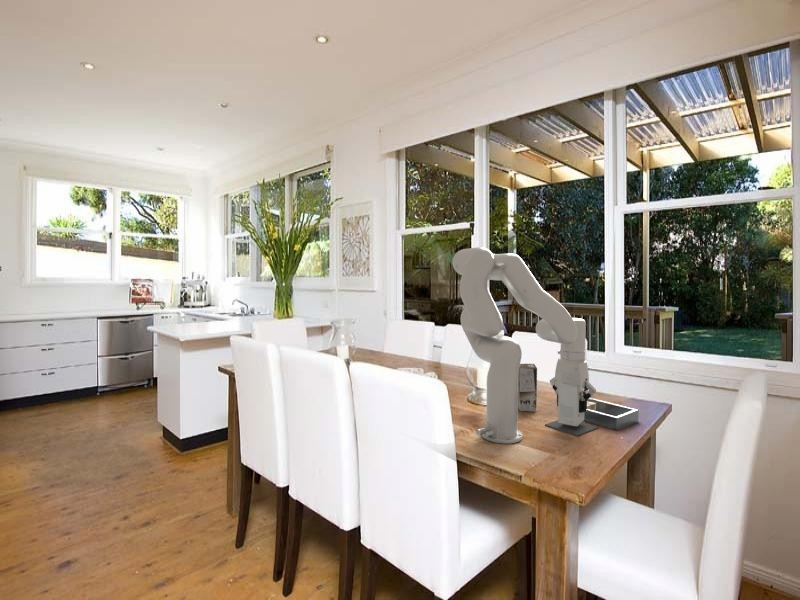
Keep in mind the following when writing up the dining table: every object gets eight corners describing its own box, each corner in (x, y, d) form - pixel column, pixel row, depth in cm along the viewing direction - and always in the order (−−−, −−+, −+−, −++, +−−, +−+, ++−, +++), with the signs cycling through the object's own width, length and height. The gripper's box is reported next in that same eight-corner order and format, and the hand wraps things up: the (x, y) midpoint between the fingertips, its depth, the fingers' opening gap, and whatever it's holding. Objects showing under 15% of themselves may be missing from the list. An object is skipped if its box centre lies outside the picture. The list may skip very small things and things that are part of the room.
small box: (565, 416, 151) (566, 379, 151) (584, 420, 147) (585, 381, 147) (557, 422, 145) (558, 383, 144) (577, 427, 141) (578, 386, 140)
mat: (577, 436, 138) (577, 435, 138) (544, 425, 148) (544, 424, 148) (598, 428, 145) (598, 426, 145) (566, 418, 155) (566, 417, 155)
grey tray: (616, 430, 143) (617, 418, 143) (566, 415, 158) (566, 404, 158) (638, 421, 151) (638, 409, 151) (588, 407, 166) (588, 397, 166)
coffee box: (537, 412, 162) (537, 368, 161) (518, 411, 163) (519, 367, 162) (534, 404, 171) (535, 363, 170) (517, 403, 172) (517, 362, 171)
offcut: (586, 417, 156) (587, 406, 156) (580, 415, 158) (580, 404, 158) (595, 414, 159) (596, 403, 159) (589, 412, 161) (589, 401, 161)
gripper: (543, 353, 150) (542, 404, 151) (591, 361, 136) (589, 418, 137) (556, 350, 154) (555, 400, 155) (604, 358, 140) (602, 413, 141)
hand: (571, 408), depth 146 cm, fingers closed on small box, 7 cm apart
